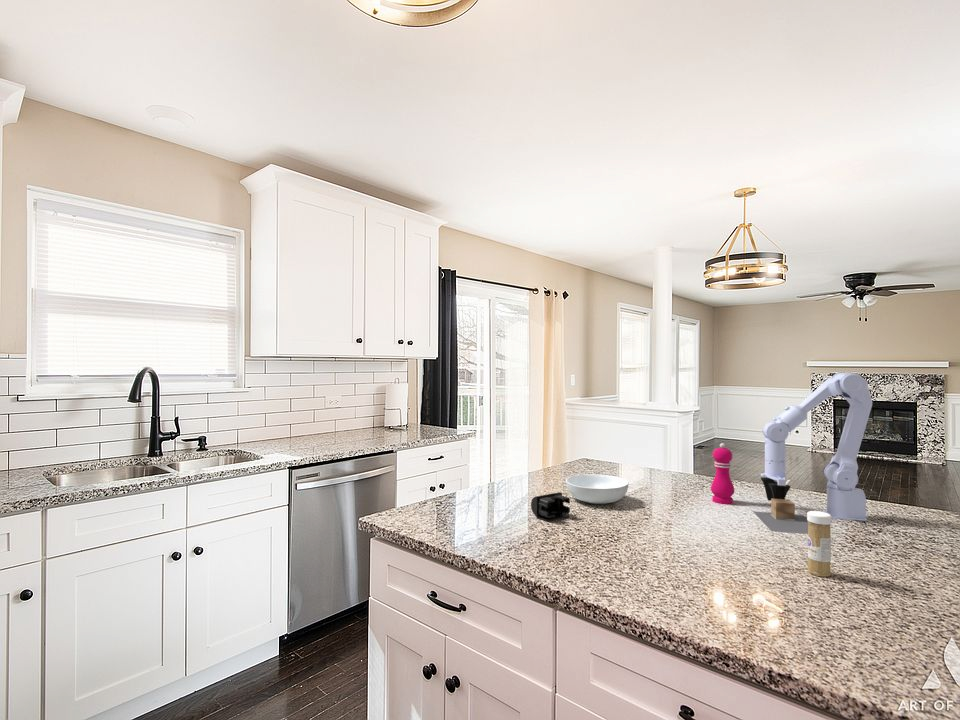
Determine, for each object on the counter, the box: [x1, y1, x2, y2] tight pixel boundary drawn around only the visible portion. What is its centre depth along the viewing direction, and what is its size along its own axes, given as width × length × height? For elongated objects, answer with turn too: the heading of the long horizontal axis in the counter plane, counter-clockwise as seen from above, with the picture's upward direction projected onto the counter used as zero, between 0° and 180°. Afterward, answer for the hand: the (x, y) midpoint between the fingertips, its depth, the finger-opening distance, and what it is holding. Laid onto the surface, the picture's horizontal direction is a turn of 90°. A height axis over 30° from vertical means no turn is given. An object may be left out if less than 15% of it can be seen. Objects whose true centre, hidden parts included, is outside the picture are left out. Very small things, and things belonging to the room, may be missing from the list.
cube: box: [770, 498, 796, 521], centre depth 159 cm, size 5×5×5 cm
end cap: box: [530, 491, 571, 523], centre depth 160 cm, size 10×7×7 cm
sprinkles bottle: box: [806, 510, 832, 578], centre depth 117 cm, size 5×5×14 cm
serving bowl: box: [565, 473, 630, 505], centre depth 179 cm, size 21×21×7 cm
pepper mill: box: [710, 442, 735, 505], centre depth 177 cm, size 7×7×20 cm
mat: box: [752, 511, 808, 535], centre depth 154 cm, size 14×20×1 cm
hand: (775, 503), depth 166 cm, fingers open, 7 cm apart
